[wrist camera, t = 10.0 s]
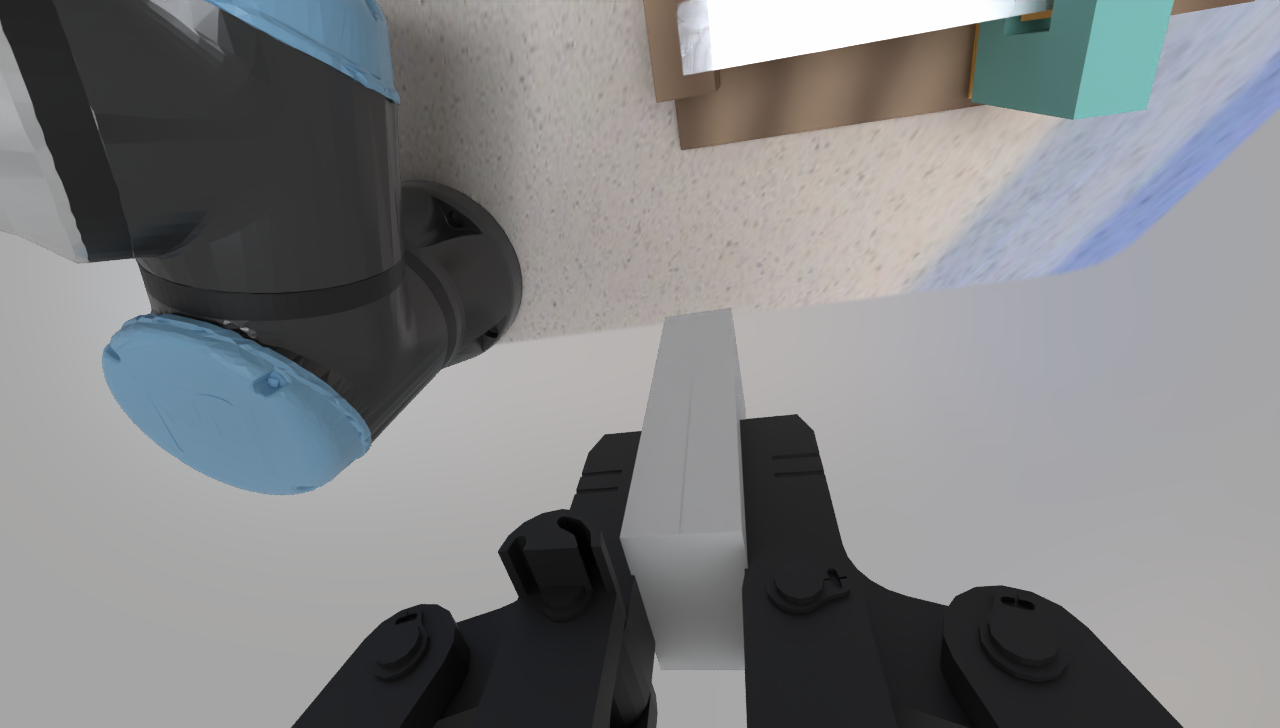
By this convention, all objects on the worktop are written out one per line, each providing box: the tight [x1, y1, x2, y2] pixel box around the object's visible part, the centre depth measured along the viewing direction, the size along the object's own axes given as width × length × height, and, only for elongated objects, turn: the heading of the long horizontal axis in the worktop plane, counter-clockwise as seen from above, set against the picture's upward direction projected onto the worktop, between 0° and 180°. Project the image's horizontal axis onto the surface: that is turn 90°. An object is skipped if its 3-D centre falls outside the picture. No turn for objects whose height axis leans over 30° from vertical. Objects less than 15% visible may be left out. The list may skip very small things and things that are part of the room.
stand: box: [643, 0, 1255, 150], centre depth 28 cm, size 25×12×10 cm, turn 99°
